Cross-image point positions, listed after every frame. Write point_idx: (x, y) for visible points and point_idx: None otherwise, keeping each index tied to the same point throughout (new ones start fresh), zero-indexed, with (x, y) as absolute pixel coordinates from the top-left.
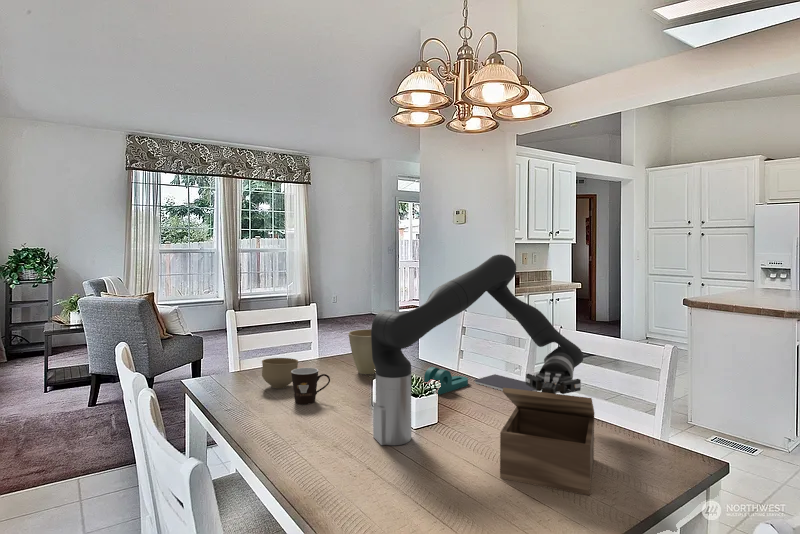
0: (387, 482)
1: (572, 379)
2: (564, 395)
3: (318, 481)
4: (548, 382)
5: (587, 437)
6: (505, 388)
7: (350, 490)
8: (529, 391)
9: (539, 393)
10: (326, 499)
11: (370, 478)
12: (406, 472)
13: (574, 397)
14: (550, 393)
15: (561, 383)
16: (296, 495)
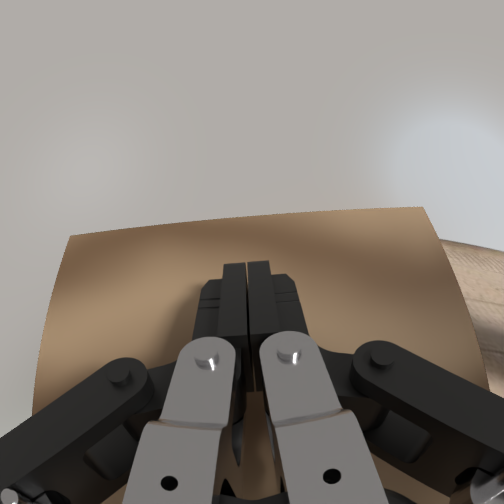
0: (466, 297)
1: (5, 492)
2: (162, 225)
3: (499, 268)
4: (265, 344)
5: None
6: (413, 209)
7: (469, 272)
8: (317, 214)
9: (271, 219)
10: (464, 257)
11: (484, 294)
12: (478, 324)
13: (125, 233)
14: (221, 219)
15: (138, 360)
16: (482, 251)
